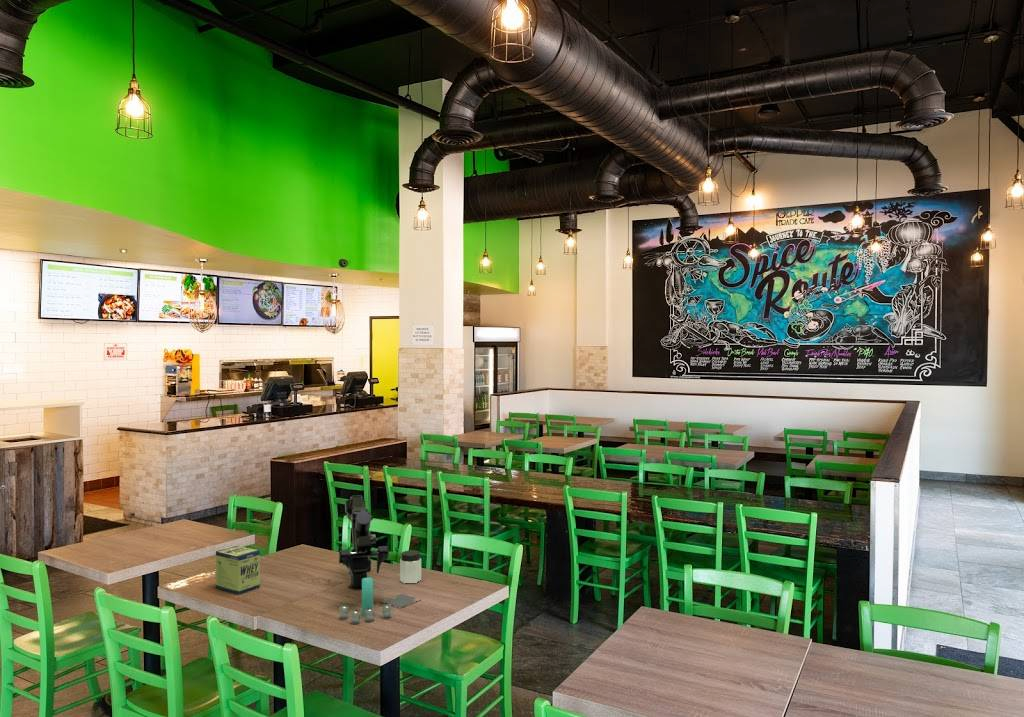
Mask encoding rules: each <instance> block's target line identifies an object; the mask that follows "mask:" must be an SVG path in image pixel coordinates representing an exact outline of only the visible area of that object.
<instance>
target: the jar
mask: <svg viewBox="0 0 1024 717" xmlns="http://www.w3.org/2000/svg"><path fill="white" fill-rule="evenodd" d="M420 580H421V581H422V558H421V552H420V551H419V550H414V549H411V550H404V551H402V552H401V553H400V559H399V582H400V581H401V583H402V582H403V584H405V583H416V584H417V582H418V581H419V582H421V581H420ZM419 582H418V583H419Z"/></svg>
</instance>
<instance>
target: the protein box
mask: <svg viewBox="0 0 1024 717" xmlns="http://www.w3.org/2000/svg"><path fill="white" fill-rule="evenodd" d="M260 553H261V551H260V550H259V549H253V548H249V547H245V546H244V547H243V546H240V545H235V546H231V547H227V548H223V549H219V550H216V551H215V589H217V590H221V591H225V592H227V593H231V594H234V593H235V594H234V595H238V594H240V595H241V594H242V593H243V594H245V592H246V593H248V591H249V592H252V591H254V589H255V590H257V589H256V588H258V589H260V588H261V554H260ZM259 587H260V588H259ZM251 590H252V591H251ZM243 594H242V595H243Z"/></svg>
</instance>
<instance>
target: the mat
mask: <svg viewBox="0 0 1024 717" xmlns="http://www.w3.org/2000/svg"><path fill="white" fill-rule="evenodd" d="M395 596H396V598H395V599H392V598H391V597H389V598H386V599H383V600H381V601H382V602H384V603H387V604H391V605H394V606H397V607H396V608H398V607H403V608H405V607H404V606H406V605H408V604H411V603H413V602H414V601H415V598H416V597H414V596H411V595H408V594H403V593H400V594H397V595H395ZM413 599H414V601H413ZM391 601H392V602H391ZM394 602H395V603H394ZM384 603H383V604H384ZM387 604H386V605H387ZM413 604H414V603H413ZM411 605H412V604H411ZM394 606H393V607H394ZM408 606H409V605H408ZM406 607H407V606H406Z"/></svg>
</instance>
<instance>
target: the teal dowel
mask: <svg viewBox="0 0 1024 717" xmlns="http://www.w3.org/2000/svg"><path fill="white" fill-rule="evenodd" d="M366 608H374V578H373V577H369V576H367V578H363V579H362V589H361V615H362V616H363V617H365V609H366Z"/></svg>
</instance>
